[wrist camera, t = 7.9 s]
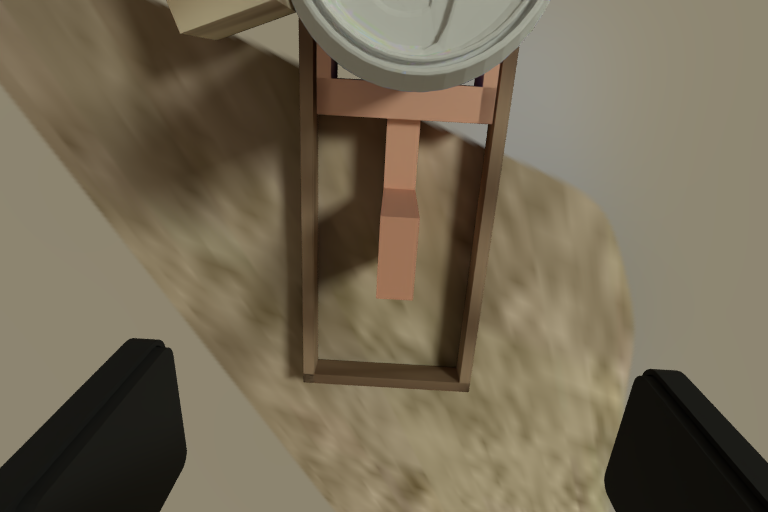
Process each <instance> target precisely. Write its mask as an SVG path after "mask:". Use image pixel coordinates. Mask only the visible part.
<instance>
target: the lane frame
mask: <svg viewBox="0 0 768 512" xmlns="http://www.w3.org/2000/svg"><path fill="white" fill-rule="evenodd" d="M518 52H519V47H518V48H517V49H515V50H514V51H513V52H512V53H511V54H510V55H509V56H508V57H507V58H506V59H505V60H503V61H502V62H501V63H500V69H499V76H498V83H497V91H496V98H495V106H494V113H493V121H492V124H488V130H487V138H486V146H485V153H484V161H483V168H482V176H481V184H480V191H479V199H478V207H477V214H476V222H475V229H474V237H473V245H472V252H471V260H470V267H469V275H468V283H467V290H466V298H465V306H464V313H463V321H462V328H461V336H460V344H459V351H458V359H457V367H439V366H422V365H406V364H389V363H372V362H355V361H338V360H322V359H318V114H317V42H316V41H315V40H314V39H313V38H312V36H311V35H310V33H309V32H308V30H307V29H306V27H305V26H304V24H303V23H302V21H301V19H300V18H299V77H300V151H301V225H302V298H303V372H304V382H308V383H325V384H341V385H358V386H375V387H392V388H408V389H425V390H442V391H459V392H469V386H470V380H471V373H472V366H473V359H474V352H475V345H476V339H477V332H478V325H479V318H480V311H481V304H482V298H483V291H484V284H485V277H486V270H487V263H488V257H489V250H490V243H491V236H492V229H493V222H494V216H495V209H496V202H497V195H498V188H499V181H500V175H501V168H502V161H503V154H504V147H505V140H506V133H507V127H508V120H509V112H510V106H511V99H512V93H513V86H514V79H515V72H516V65H517V58H518Z"/></svg>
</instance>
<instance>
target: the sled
mask: <svg viewBox="0 0 768 512" xmlns="http://www.w3.org/2000/svg"><path fill="white" fill-rule="evenodd" d="M337 65H338V63H337V62H336V61H335V60H333V59H332V58H331V57H330V56H329V55H327V54H326V52H325V51H324V50H323V49H322V48H321V47H320V46H319V44H318V43H317V114H320V115H338V116H355V117H373V118H387V135H386V154H385V172H384V189H383V198H382V207H381V216H380V234H379V254H378V273H377V292H376V298H380V299H397V300H413V292H414V280H415V268H416V256H417V244H418V233H419V221H420V217H419V211H418V205H417V199H416V192H415V185H416V172H417V159H418V147H419V134H420V121H421V120H425V121H443V122H461V123H478V124H492V121H493V113H494V106H495V98H496V91H497V83H498V76H499V69H500V64H498V65H497V66H495V67H494V68H492V69H491V70H489V71H488V72H486V73H485V74H483V75H481V76H479V77H477V78H475V82H474V86H466V85H458V86H455V87H451V88H448V89H444V90H438V91H429V92H405V91H398V90H393V89H389V88H384V87H380V86H378V85H375V84H373V83H370V82H368V81H365V80H362V79H344V78H337V70H338V66H337Z"/></svg>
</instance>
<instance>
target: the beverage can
mask: <svg viewBox="0 0 768 512" xmlns="http://www.w3.org/2000/svg"><path fill="white" fill-rule="evenodd" d="M291 1H292V3H293V5H294V8H295V10H296V12H297V14H298V16H299V18H300V19H301V21H302V23H303V24H304V26H305V27H306V29H307V30H308V32H309V33H310V35H311V36H312V38H313V39H314V40H315V41H316V42H317V43H318V44H319V46H320V47H321V48H322V49H323V50H324V51H325V52H326V54H327V55H329V56H330V57H331V58H332V59H333V60H335V61H336V62H337V63H338V64H339V65H341V66H342V67H343V68H344V69H346V70H348V71H349V72H351V73H353V74H354V75H356V76H358V77H359V78H361V79H363V80H365V81H368V82H370V83H373V84H375V85H378V86H380V87H384V88H389V89H393V90H398V91H405V92H429V91H438V90H444V89H448V88H451V87H455V86H458V85H461V84H464V83H466V82H469V81H471V80H473V79H475V78H477V77H479V76H481V75H483V74H485V73H486V72H488V71H489V70H491V69H492V68H494V67H495V66H497V65H498V64H500V63H501V62H502V61H503V60H505V59H506V58H507V57H508V56H509V55H510V54H511V53H512V52H513V51H514V50H515V49H517V48H518V47H519V46H520V44H521V43H522V42H523V41H524V40H525V38H526V37H527V36H528V35H529V33H530V32H531V31H532V30H533V29H534V27H535V26H536V24H537V22H538V21H539V19H540V17H541V16H542V14H543V13H544V11H545V10H546V8H547V6H548V4H549V2H550V0H291Z"/></svg>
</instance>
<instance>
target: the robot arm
mask: <svg viewBox="0 0 768 512" xmlns="http://www.w3.org/2000/svg"><path fill="white" fill-rule="evenodd" d="M186 449H187V448H186V441H185V434H184V427H183V420H182V413H181V406H180V399H179V392H178V385H177V378H176V370H175V364H174V356H173V352H172V350H171V349H170V348H166V347H165V345H164V343H163V341H161V340H154V339H137V338H132V339H129V340H128V341H126V342H125V343H124V344H123V345H122V346H121V347H120V348H119V349H118V350H117V351H116V352H115V353H114V354H113V355H112V356H111V357H110V358H109V359H108V360H107V361H106V362H105V363H104V364H103V365H102V366H101V367H100V368H99V370H97V371H96V372H95V373H94V374H93V375H92V376H91V377H90V378H89V379H88V381H86V382H85V383H84V384H83V385H82V386H81V387H80V389H78V390H77V391H76V392H75V394H73V395H72V396H71V397H70V399H68V400H67V401H66V402H65V403H64V404H63V406H61V407H60V409H58V410H57V412H56V413H55V414H54V415H53V416H52V417H51V418H50V419H49V420H48V421H47V422H46V423H45V424H44V425H43V426H42V427H41V428H40V429H39V430H38V431H37V432H36V433H35V434H34V435H33V436H32V437H31V438H30V439H29V440H28V441H27V442H26V443H25V444H24V445H23V446H22V447H21V448H20V449H19V450H18V451H17V452H16V453H15V454H14V455H13V456H12V457H11V458H10V459H9V460H8V461H7V462H6V463H5V464H4V465H3V466H2V467H1V468H0V512H160V510H161V508H162V506H163V505H164V503H165V501H166V499H167V497H168V495H169V493H170V492H171V490H172V488H173V486H174V484H175V482H176V480H177V478H178V477H179V475H180V473H181V471H182V469H183V467H184V463H185V460H186V454H187V450H186ZM604 483H605V489H606V493H607V495H608V497H609V499H610V501H611V503H612V505H613V507H614V509H615V511H616V512H768V463H767V462H766V461H765V459H763V458H762V456H761V455H760V454H759V453H758V452H757V451H756V450H755V449H754V448H753V447H752V446H751V445H750V443H748V442H747V440H746V439H745V438H744V437H743V436H742V435H741V434H740V433H739V432H738V431H737V430H736V429H735V428H734V427H733V426H732V424H731V423H730V422H729V421H728V420H727V419H726V418H725V417H724V416H723V415H722V414H721V413H720V412H719V411H718V409H717V408H716V407H714V405H713V404H712V403H711V402H710V401H709V400H708V399H707V398H706V397H705V396H704V395H703V394H702V393H701V391H700V390H699V389H698V388H697V387H696V386H695V385H694V384H693V383H692V382H691V381H690V380H689V379H688V378H687V377H686V376H685V375H684V374H683V373H682V372H680V371H674V370H657V369H648V370H646V371H645V372H644V373H643V375H642V376H638V377H637V378H635V380H634V383H633V386H632V389H631V392H630V395H629V399H628V402H627V405H626V408H625V412H624V415H623V418H622V421H621V424H620V428H619V431H618V434H617V437H616V440H615V444H614V447H613V450H612V453H611V456H610V460H609V463H608V466H607V469H606V472H605V477H604Z"/></svg>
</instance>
